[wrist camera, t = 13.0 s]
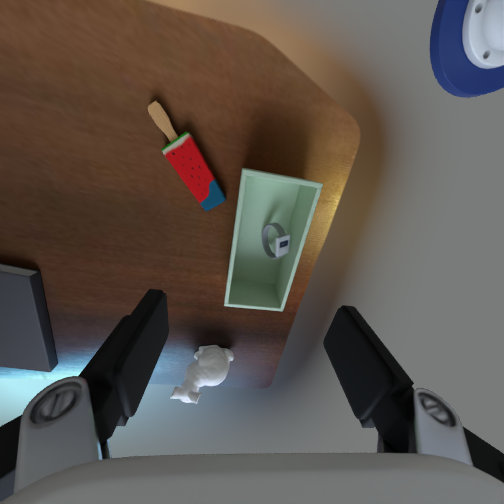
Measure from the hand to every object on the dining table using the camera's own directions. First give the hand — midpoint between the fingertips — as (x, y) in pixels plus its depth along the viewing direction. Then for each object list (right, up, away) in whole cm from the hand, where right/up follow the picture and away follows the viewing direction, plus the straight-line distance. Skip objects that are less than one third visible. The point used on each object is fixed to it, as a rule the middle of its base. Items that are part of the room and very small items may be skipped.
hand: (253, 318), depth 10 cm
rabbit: (-12, -22, +37) cm, 45 cm away
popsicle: (-10, +18, +18) cm, 27 cm away
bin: (+2, +7, +24) cm, 25 cm away
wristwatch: (+2, +6, +23) cm, 24 cm away
